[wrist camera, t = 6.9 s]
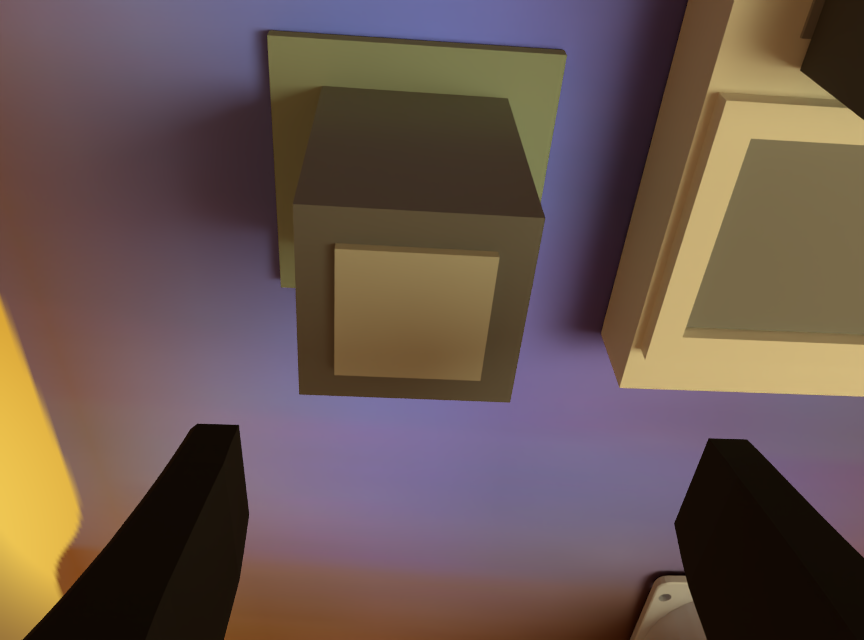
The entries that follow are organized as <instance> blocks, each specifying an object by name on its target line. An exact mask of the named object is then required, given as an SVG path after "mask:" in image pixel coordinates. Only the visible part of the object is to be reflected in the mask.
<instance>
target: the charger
mask: <svg viewBox="0 0 864 640" xmlns="http://www.w3.org/2000/svg"><path fill="white" fill-rule="evenodd" d="M544 222H545V216H544V213H543V210H542V206H541V203H540V200H539V197H538V193H537V190H536V187H535V184H534V181H533V177H532V174H531V171H530V168H529V164H528V161H527V158H526V155H525V152H524V148H523V145H522V142H521V139H520V136H519V132H518V129H517V126H516V123H515V119H514V116H513V113H512V110H511V107H510V103H509V100H508V98H496V97H481V96H466V95H451V94H436V93H422V92H407V91H392V90H377V89H362V88H347V87H332V86H322V89H321V93H320V97H319V101H318V105H317V109H316V113H315V117H314V121H313V125H312V129H311V133H310V137H309V141H308V145H307V149H306V153H305V157H304V161H303V165H302V169H301V173H300V177H299V181H298V185H297V189H296V193H295V197H294V201H293V228H294V257H295V286H296V315H297V344H298V373H299V394H303V395H329V396H356V397H382V398H408V399H435V400H461V401H487V402H510V400H511V394H512V389H513V384H514V379H515V373H516V368H517V363H518V358H519V353H520V347H521V342H522V337H523V332H524V326H525V321H526V316H527V311H528V305H529V300H530V295H531V290H532V285H533V279H534V274H535V269H536V264H537V258H538V253H539V248H540V243H541V237H542V232H543V227H544Z"/></svg>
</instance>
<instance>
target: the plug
mask: <svg viewBox="0 0 864 640" xmlns="http://www.w3.org/2000/svg"><path fill="white" fill-rule="evenodd" d="M800 71H801V72H802V73H804V74H805V75H806V76H808V77H809V78H810V79H811V80H813V81H814V82H815V83H817V84H818V85H819V86H820V87H822V88H823V89H824V90H826V91H827V92H828V93H829V94H831V95H832V96H833V97H835V98H836V99H837V100H838V101H840V102H841V103H842V104H844V105H845V106H846V107H847V108H849V109H850V110H851V111H853V112H854V113H855V114H856V115H858V116H859V117H860V118H862V119H863V120H864V0H825V3H824V6H823V8H822V11H821V14H820V17H819V19H818V22H817V25H816V27H815V30H814V33H813V36H812V38H811V41H810V44H809V47H808V49H807V52H806V55H805V58H804V60H803V63H802V66H801V69H800Z"/></svg>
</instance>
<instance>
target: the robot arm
mask: <svg viewBox="0 0 864 640" xmlns="http://www.w3.org/2000/svg"><path fill="white" fill-rule="evenodd" d="M248 519H249V509H248V500H247V492H246V483H245V474H244V466H243V457H242V448H241V440H240V431H239V425H223V424H197V425H195V426H194V427H193V428H191V429H190V431H189V432H188V434H187V436H186V437H185V439H184V440H183V442H182V443H181V445H180V446H179V448H178V449H177V451H176V452H175V454H174V455H173V457H172V458H171V460H170V461H169V463H168V464H167V466H166V467H165V468H164V470H163V471H162V473H161V474H160V476H159V477H158V478H157V480H156V481H155V483H154V484H153V485H152V487H151V488H150V489H149V491H148V492H147V494H146V495H145V496H144V498H143V499H142V500H141V502H140V503H139V504H138V506H137V507H136V508H135V509H134V511H133V512H132V513H131V515H130V516H129V517H128V518H127V520H126V521H125V522H124V524H123V525H122V526H121V528H120V529H119V530H118V531H117V533H116V534H115V535H114V537H113V538H112V539H111V540H110V542H109V543H108V544H107V545H106V547H105V548H104V549H103V550H102V551H101V553H100V554H99V555H98V556H97V557H96V558H95V560H94V561H93V562H92V563H91V564H90V565H89V567H88V568H87V569H86V570H85V571H84V572H83V574H82V575H81V576H80V577H79V578H78V579H77V581H76V582H75V583H74V584H73V585H72V586H71V588H70V589H69V590H68V591H67V592H66V593H65V595H64V596H63V597H62V598H61V599H60V600H59V601H58V603H57V604H56V605H55V606H54V607H53V608H52V609H51V610H50V611H49V612H48V613H47V614H46V616H45V617H44V618H43V619H42V620H41V621H40V622H39V623H38V624H37V625H36V626H35V627H34V628H33V629H32V630H31V632H30V633H29V634H28V635H27V636H26V637H25V638H24V639H23V640H224V637H225V633H226V629H227V625H228V622H229V618H230V614H231V610H232V606H233V602H234V599H235V595H236V591H237V587H238V583H239V579H240V573H241V566H242V560H243V554H244V547H245V540H246V533H247V526H248ZM674 525H675V530H676V534H677V539H678V544H679V549H680V554H681V559H682V563H683V567H684V571H685V575H686V576H671V575H668V576H662V577H659V578H658V579H656V581H655V582H654V584H653V586H652V588H651V591H650V593H649V595H648V598H647V600H646V603H645V605H644V607H643V610H642V612H641V615H640V617H639V619H638V622H637V624H636V626H635V629H634V631H633V634H632V636H631V638H630V640H864V558H863V557H862V556H861V555H860V554H859V553H858V552H857V551H856V550H855V549H854V548H853V547H852V546H851V545H850V544H849V543H848V542H847V541H846V540H845V539H844V538H843V537H842V536H841V535H840V534H839V533H838V532H837V531H836V530H835V529H834V528H833V527H832V526H831V525H830V524H829V523H828V522H827V521H826V520H825V519H824V518H823V517H822V516H821V515H820V514H819V513H818V512H817V511H816V510H815V509H814V508H813V507H812V506H811V505H810V504H809V503H808V501H807V500H806V499H805V498H804V497H803V496H802V495H801V494H800V493H799V492H798V491H797V490H796V489H795V488H794V487H793V486H792V485H791V484H790V483H789V482H788V481H787V480H786V479H785V478H784V477H783V476H782V475H781V474H780V473H779V471H778V470H777V469H776V468H775V467H774V466H773V465H772V464H771V463H770V462H769V461H768V460H767V459H766V458H765V457H764V456H763V455H762V454H761V453H760V452H759V451H758V450H757V449H756V448H755V447H754V446H753V445H752V444H751V443H750V442H749V441H748V440H744V439H710V438H709V439H708V441H707V444H706V446H705V449H704V451H703V454H702V456H701V459H700V461H699V464H698V466H697V469H696V471H695V474H694V476H693V479H692V481H691V483H690V486H689V488H688V491H687V493H686V496H685V498H684V501H683V503H682V506H681V508H680V511H679V513H678V516H677V518H676V520H675V523H674Z"/></svg>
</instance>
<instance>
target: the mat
mask: <svg viewBox="0 0 864 640" xmlns="http://www.w3.org/2000/svg"><path fill="white" fill-rule="evenodd" d="M267 41H268V60H269V78H270V96H271V114H272V132H273V151H274V169H275V187H276V205H277V223H278V242H279V260H280V278H281V287H287V288H296V286H295V257H294V228H293V201H294V197H295V193H296V189H297V185H298V181H299V177H300V173H301V169H302V165H303V161H304V157H305V153H306V149H307V145H308V141H309V137H310V133H311V129H312V125H313V121H314V117H315V113H316V109H317V105H318V101H319V97H320V93H321V89H322V86H332V87H347V88H362V89H377V90H392V91H407V92H422V93H436V94H451V95H466V96H481V97H496V98H508V100H509V103H510V107H511V110H512V113H513V116H514V119H515V123H516V126H517V129H518V132H519V136H520V139H521V142H522V145H523V148H524V152H525V155H526V158H527V161H528V164H529V168H530V171H531V174H532V177H533V181H534V184H535V187H536V190H537V193H538V197H539V200H540V203H541V197H542V192H543V186H544V181H545V175H546V169H547V164H548V158H549V153H550V147H551V141H552V136H553V130H554V125H555V119H556V113H557V108H558V102H559V97H560V91H561V85H562V80H563V74H564V69H565V63H566V57H567V54H566V53H565V51H564V50H557V49H542V48H527V47H512V46H497V45H482V44H467V43H452V42H437V41H422V40H407V39H392V38H377V37H362V36H347V35H333V34H318V33H303V32H288V31H273V30H270V31H269V33H268V35H267Z"/></svg>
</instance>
